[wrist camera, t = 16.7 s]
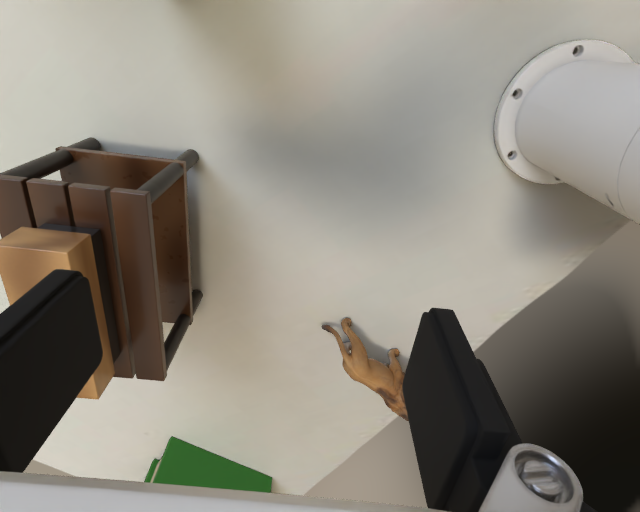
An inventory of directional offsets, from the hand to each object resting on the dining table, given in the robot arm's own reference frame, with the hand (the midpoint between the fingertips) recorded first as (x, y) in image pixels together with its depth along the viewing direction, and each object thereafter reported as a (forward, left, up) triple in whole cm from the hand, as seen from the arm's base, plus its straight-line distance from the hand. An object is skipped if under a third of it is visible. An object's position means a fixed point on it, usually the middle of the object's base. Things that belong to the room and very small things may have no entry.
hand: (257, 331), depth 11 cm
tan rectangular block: (+12, +16, -17) cm, 26 cm away
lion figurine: (-18, +22, -30) cm, 42 cm away
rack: (+12, +16, -30) cm, 36 cm away
